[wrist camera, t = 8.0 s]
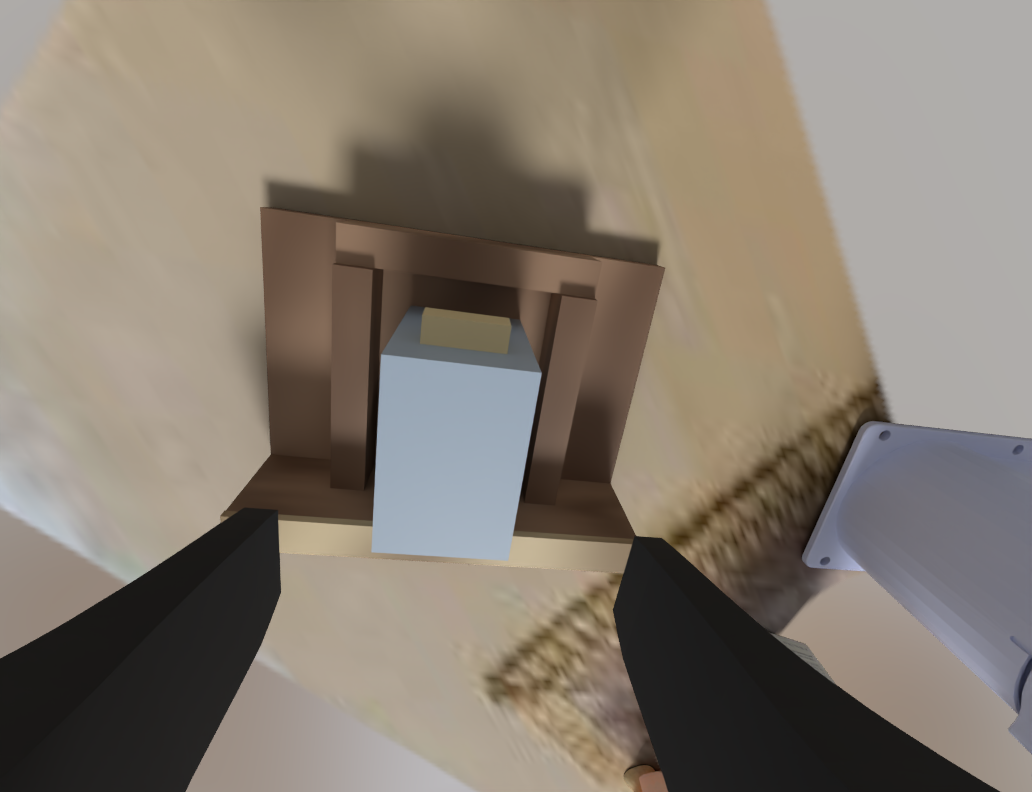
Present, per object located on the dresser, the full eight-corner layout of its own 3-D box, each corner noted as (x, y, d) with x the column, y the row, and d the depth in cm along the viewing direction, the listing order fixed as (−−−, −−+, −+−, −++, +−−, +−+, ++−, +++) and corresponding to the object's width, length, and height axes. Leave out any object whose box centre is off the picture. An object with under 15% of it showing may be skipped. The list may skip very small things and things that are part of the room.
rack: (657, 265, 18) (718, 286, 14) (599, 497, 22) (632, 573, 17) (270, 207, 16) (191, 208, 12) (279, 471, 20) (223, 549, 16)
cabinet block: (523, 298, 17) (546, 342, 12) (498, 460, 20) (508, 560, 14) (412, 283, 17) (382, 322, 11) (400, 452, 19) (371, 552, 14)
